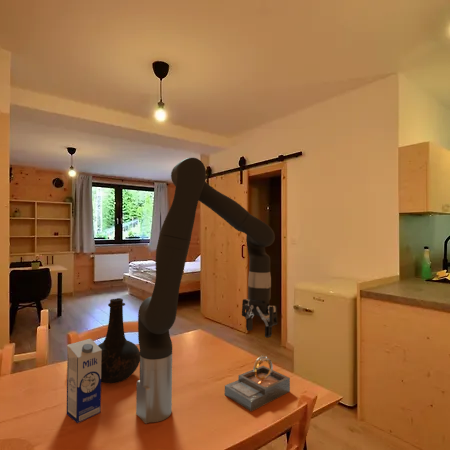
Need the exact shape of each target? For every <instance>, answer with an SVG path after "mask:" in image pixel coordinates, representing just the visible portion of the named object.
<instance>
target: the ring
mask: <svg viewBox="0 0 450 450" xmlns="http://www.w3.org/2000/svg"><path fill="white" fill-rule="evenodd" d="M264 362H267V363H268V366H269V367H268V368H269V372H268V374H267V375H266V376H265V377H264V376H262V377H258V376H257V368H258V367H260V365H261V364H263V363H264ZM252 368H253V369H252V370H253V372H254V375H255V376H256V378H257V379H259V380H263V381H264V380H265V379H267V378H268V377H269V376H270V375H271V373H272V370H274V365H273V362H272V360H271V359H270V358H268V356H267V355H265V356H264V355H260V356H259V357H258V358H256V360H255V361H254V364H253V367H252Z"/></svg>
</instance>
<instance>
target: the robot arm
mask: <svg viewBox="0 0 450 450" xmlns="http://www.w3.org/2000/svg"><path fill="white" fill-rule="evenodd" d="M170 178H171V182H172V184H173V185H174V186H175V189H174V195H173V199H172V203H171V205H170V207H169V209H168V212H167V214H166V216H165V218H164V221H163V222H162V223H163V224H162V226H161V228H160V232H159V236H158V240H157V244H156V250H155V283H154V287H153V290H152V292H151V293H152V294H151V296H148V297H146V298H144V300H143V301H142V302H141V304H140V305H139V308H138V314H137V315H138V316H137V331H138V332H137V334H138V335H137V338H138V339H137V340H138V346H139V351H140V362H139V380H138V379H137V381H136V392H135V393H136V394H135V395H136V397H135V398H136V400H135V401H136V404H135V406H136V407H135V411H136V413H135V415H136V416H138V418H140V420H141V421H143V423H144V424H148V423H157V422H161V421H164V420H167V419H168V418H169V417H170V416H171V414H172V407H173V401H172V400H173V342H172V339H171V334H170V329H172V328H173V326H174V323H175V322H176V318H177V314H178V313H177V312H178V311H177V310H178V303H179V302H178V301H179V296H180V295H179V293H180V287H181V282H182V278H183V275H184V271H185V266H186V263H187V261H186V260H187V257H188V254H189V249H190V244H191V239H192V236H193V235H192V234H193V228H194V225H195V219H196V214H197V207H198V204H199V202H200V203H202V204H203V205H205V206H206V207H207V208H208V209H210V210H211V211H213V213H215V214H217V215H218V216H219V217H220V218H222V220H224V221H225V223H228V225H230V226H231V227H232V228H234V229H235V230H236V231H238V232H240V233H244V234H245V235H246V236H245V237H246V239H245V240H246V247H247V253H248V256H249V257H248V258H249V262H248V263H249V264H248V265H249V266H248V267H249V268H248V281H247V282H248V283H247V284H248V285H247V298H244V299H242V307H241V316H242V317H244V320H245V319H246V321H245V328H246V331H248V332H249V331H250V332H251V331H252V330H253V327H254V326H253V323H254V321H253V320H254V319H253V318H254V316H257V317H260V318H261V320H262V321H263V322H264V325H265V326H264V338H267V339H268V338H271V337H272V335H273V326H275V325H278V307H277V305H270V300H271V295H272V293H271V292H272V291H271V288H272V276H271V257H270V255H269V254H267V252H266V248H267V247H270V246H271V245H273V244H274V243H275V239H276V237H275V236H276V235H275V232H274V230H273V228H272V227H271V226H270V225H268V224H267V223H266V222H264V221H262V220H261V219H259V218H257V216H256V217H255V216H254V215H252V214H251V213H250V212H249V211H248V210H247V209H246V208H244V207H243V206H242V205H241V204H240V203H238V202H237V201H235V200H234V199H233V198H231V197H229V196H227V195H225V194H223V193H222V192H220V191H218V190H217V189H215V188H214V187H212V186H211V185H210V184H209V183H208V182H206V179H207V170H206V167H205V164H204V162H203V161H201V160H200V159H199V158H198V157H187V158H185V159H182V160H181V161H179V162H178V163H177V164H175V166H174V167H173V168H172V170H171V173H170Z"/></svg>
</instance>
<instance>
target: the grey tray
mask: <svg viewBox="0 0 450 450" xmlns="http://www.w3.org/2000/svg"><path fill="white" fill-rule="evenodd" d="M269 369H270V367H267V366H265V365H262V366H259V367H258V368H257V376H258V377H262V376H264V377H265V376H266V375H267V374H268V372H269ZM237 377H238V379H237V380H235V381H233V382H230V383H228V384H225V385H224V396H225V397H227V398H229V399H231V400H232V401H234V402H235V403H236V404H239V405H240V406H242V407H243V408H244V409H246V410H247V411H249V412H253V411H255V410H257V409H258V408H261V407H262V406H265V405H267V404H268V403H271V402H272V401H274V400H277V399H278V398H280V397H282V396H284V395H286V394H288V393H290V392H291V389H290V388H291V378H290V377H289V376H287V375H285V374H282V373H280V372H278V371H277V370H276V371H275V370H274V369H273V370H272V373H271V375H270V376H269V377H268V378H267V379H265V380H264V381H263V380H259V379H257V378H256V376H255V375H254V372H253V369H251V370H248V371H246V372H244V373H241V374H239V375H238V376H237Z"/></svg>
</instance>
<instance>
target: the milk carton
mask: <svg viewBox="0 0 450 450" xmlns="http://www.w3.org/2000/svg"><path fill="white" fill-rule="evenodd" d="M98 345H99V344H98V343H96V342H95V341H94V340H93V339H92V338H88V339H83V340H80V341H77V342H72V343H69V344H67V346H66V347H67V360H66V364H67V365H66V415H67V416H68V417H69V418H70V419H71V420H73V421H74V422H75V423H77V424H79V423H81V422H84V421H85V420H88V419H90V418H92V417H94V416H96V415H98V414H101V408H102V405H101V404H102V398H101V397H102V382H101V351H102V349H101V348H100V347H99V346H98Z"/></svg>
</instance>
